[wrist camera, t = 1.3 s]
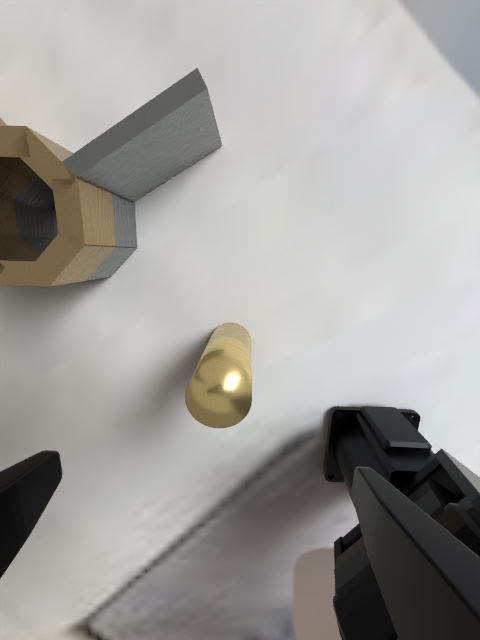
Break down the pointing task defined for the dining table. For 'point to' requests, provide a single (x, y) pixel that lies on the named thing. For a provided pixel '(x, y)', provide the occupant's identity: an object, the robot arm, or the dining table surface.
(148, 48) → the dining table surface
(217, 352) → the hinge pin
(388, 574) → the robot arm
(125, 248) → the hinge
